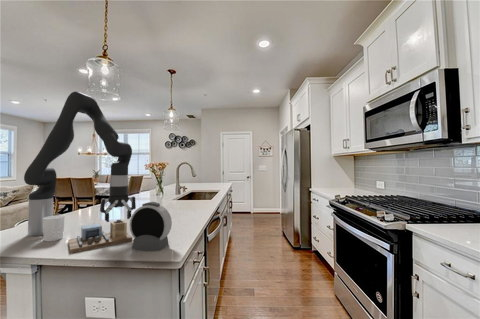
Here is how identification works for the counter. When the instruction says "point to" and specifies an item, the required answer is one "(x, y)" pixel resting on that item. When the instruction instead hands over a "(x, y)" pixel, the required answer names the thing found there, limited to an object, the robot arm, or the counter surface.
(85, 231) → the block
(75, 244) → the jig board
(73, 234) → the counter surface
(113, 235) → the collar
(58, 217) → the white cup
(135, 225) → the alarm clock
